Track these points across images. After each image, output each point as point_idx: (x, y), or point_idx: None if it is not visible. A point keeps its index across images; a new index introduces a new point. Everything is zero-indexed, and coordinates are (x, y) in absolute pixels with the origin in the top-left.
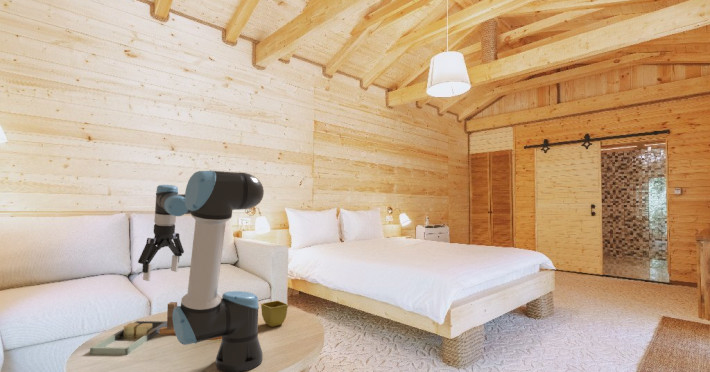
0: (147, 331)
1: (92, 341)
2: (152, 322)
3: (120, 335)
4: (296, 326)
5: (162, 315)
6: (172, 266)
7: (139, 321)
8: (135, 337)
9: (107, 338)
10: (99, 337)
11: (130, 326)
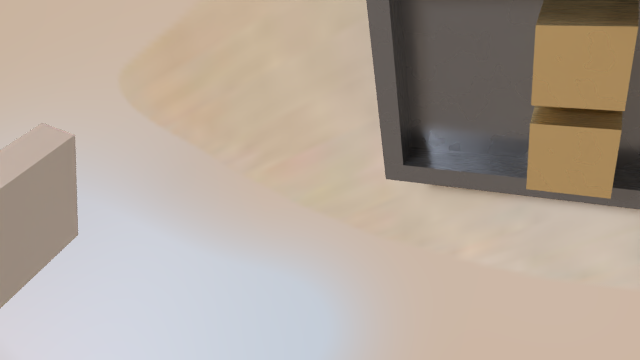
0: (626, 8)
1: (624, 283)
2: (395, 74)
3: (621, 175)
4: None
5: (178, 106)
6: (17, 268)
7: (392, 161)
8: (631, 73)
9: None
10: (557, 273)
11: (610, 157)
